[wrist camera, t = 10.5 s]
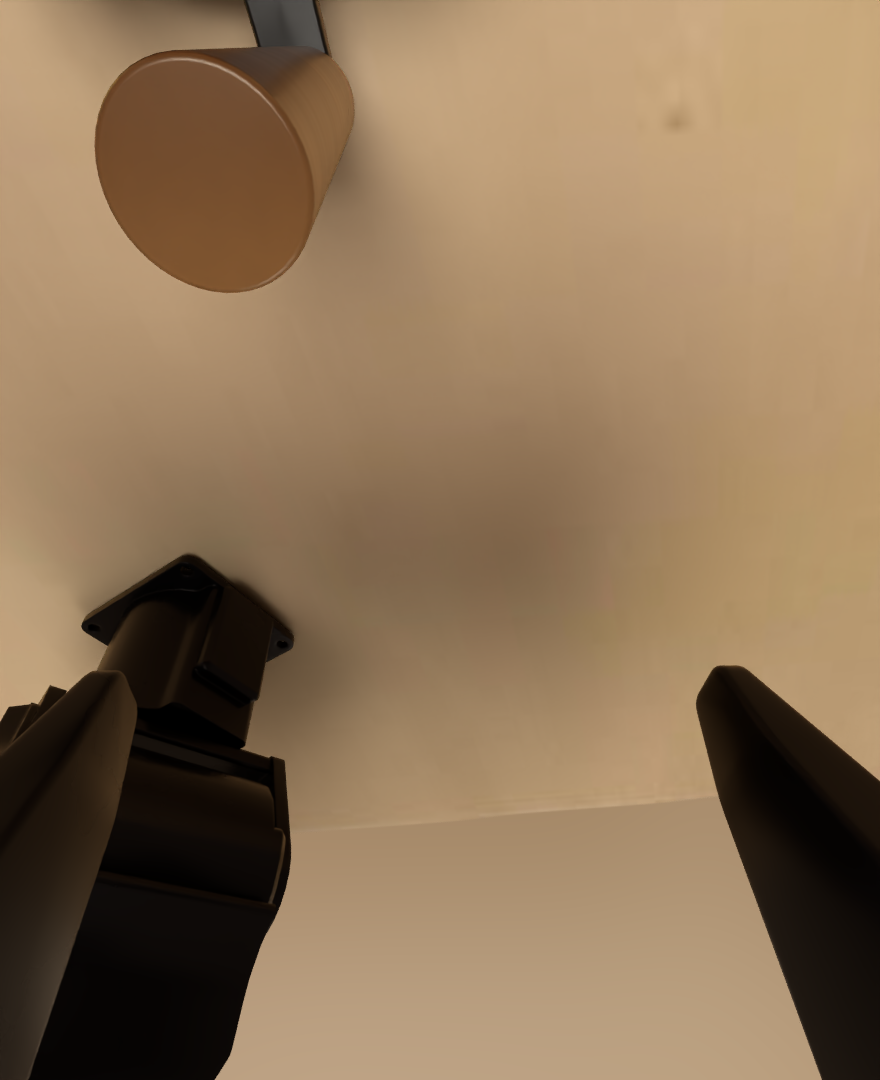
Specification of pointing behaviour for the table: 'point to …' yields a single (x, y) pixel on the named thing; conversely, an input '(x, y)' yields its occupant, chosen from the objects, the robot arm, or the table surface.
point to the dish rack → (227, 149)
